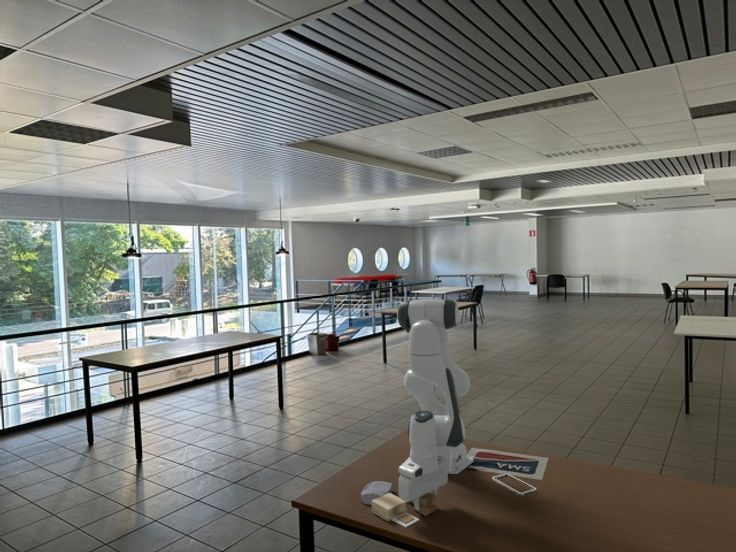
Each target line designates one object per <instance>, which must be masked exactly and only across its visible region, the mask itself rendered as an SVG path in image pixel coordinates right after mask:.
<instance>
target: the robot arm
mask: <svg viewBox="0 0 736 552" xmlns="http://www.w3.org/2000/svg"><path fill="white" fill-rule="evenodd" d="M396 311H397V312H396V317H397V321H398V325H399V326H400V327H401V328H402V329H403V330H405V331H406V333H407V334H409V338H408V363H409V369H408V370H407V371H406V372H405V374H404V377H403V386H404V388H405V390H406V391H407V392H408V394H410V395H411V396H412V397H413V398H414V399H415V400H416V402H417V403H418V405H419V406H420V410H417V411H414V412H413V413H412V414H411V417H410V420H409V422H408V425H407V437H408V440H409V444H410V451H409V456H408V458H407V459H406V460H405V461H404V462H402V463H401V464H400V465H399V466H398V473H399V474H400V475H399V477H398V486H397V487H398V497H399V498H401V499H402V500H404V501H406V503H411V502H410V501H412V500H413V502H414V503H413V507H414V506H415V509H417V510H419V509H421V508H422V507H421V506H422V503H419V501H418V500H419V497H420V496H422V495H424V494H426V493H428V492H430V493H432V494H434V495H436V494H437V493H438V489H439V488H441V487H442V486H444V485H446V484H447V483H448V481H449V475H458V474H460V473H461V472H462V471H464V470H465V469H466V468H468V465H469V466H470V465H471V464H472V463H474V458H473V457H471V455H470V456H469V455H468V450H467V447H466V445H465V444H463V442H465V438H466V427H465V425H464V421H463V419H462V414H461V409H460V404H459V399H458V397H463V396H465V395H467V393H468V392H469V390H470V387H471V379H470V377H469V374H468V373H467V372H466V370H464V369H463V368H461V367H460V366H458V364H457V363H456V362H455V361H454V360H453V358H452V355H451V353H450V345H449V334H448V330H450V329H453V328H455V327H456V326H457V324H458V322H459V318H460V310H459V307H458V305H457V303H456V302H455V301H454V300H452V299H446V298H445V299H440V298H427V299H425V298H424V299H413V300H410V299H408V300H404V301H401V302H400V303H399V305H398V307H397V310H396ZM437 397H444V399H445V404H443V403H441V402H439V400H438V399H437ZM448 474H449V475H448Z"/></svg>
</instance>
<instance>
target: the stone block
mask: <svg viewBox="0 0 736 552" xmlns="http://www.w3.org/2000/svg"><path fill="white" fill-rule="evenodd" d="M393 488H394V487H393V482H387V481H380V480H376V481H371V482H368V483H366V485H365V486H364V487H363V488H362V491H361V492H360V500H361V502H362V504H364V505H369V506H372V505H371V500H374V499H376V498H379V497H381V496H383V495H386V494H388V493H391V494H393Z"/></svg>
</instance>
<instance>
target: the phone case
mask: <svg viewBox="0 0 736 552" xmlns="http://www.w3.org/2000/svg"><path fill="white" fill-rule="evenodd" d="M505 475H508V476H507V477H509V476H510V477H511V478H513V479H515V480H517V481H518V480H519V481H521V482H523V483H525V484H527V485H528V486H530V487H532V488H534V489H532V488H531V489H529V490H527V491H523V492H521V491H519V490H517V489H515V488H514V487H513V488H512V487H511V486H510V485H508V484H506V483H504V482H502V481H500V480H499V478H502V476H503V477H506V476H505ZM498 477H499V478H498ZM491 478H492V481H494V482H495V483H498V484H499V485H501V486H502V487H504V486H505V488H506V487H507V488H506V489H508V488H509V489H508V490H510V491H511V490H512V491H511V492H513V491H515V492H517V493H518V494H517V493H516V494H517V495H519V494H521V495H523V494H524V495H525V494H527V493H529V492H530V493H531V492H534V491H535V490H536V491H537V487H534V486H533V485H531V484H529V483H527V482H525V481H523V480H522V479H520V478H517V477H515V476H513V475H512V474H510V473H508V472H506V473H502V474H497V475H494V476H492V477H491ZM495 478H496V479H495ZM528 486H527V487H528ZM530 487H529V488H530ZM515 492H514V493H515ZM521 495H520V496H521ZM524 495H523V496H524Z"/></svg>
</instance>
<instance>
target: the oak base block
mask: <svg viewBox="0 0 736 552" xmlns="http://www.w3.org/2000/svg"><path fill="white" fill-rule="evenodd" d="M370 506H371V513H373V514H375V515H377V516H378V517H380V518H381V519H383V520H385V521H387V522H390V521H392V519H393V518H395V517H397V516H399V515H401V514H403V513H405V512H406V513H408V512H407V511H408V509H407V502H406V501H404V500H402V499H401V498H400V497H399V496H397V495H395V494H393V493H388V494H386V495H383V496H381V497H379V498H376V499H374V500H371V505H370Z"/></svg>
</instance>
